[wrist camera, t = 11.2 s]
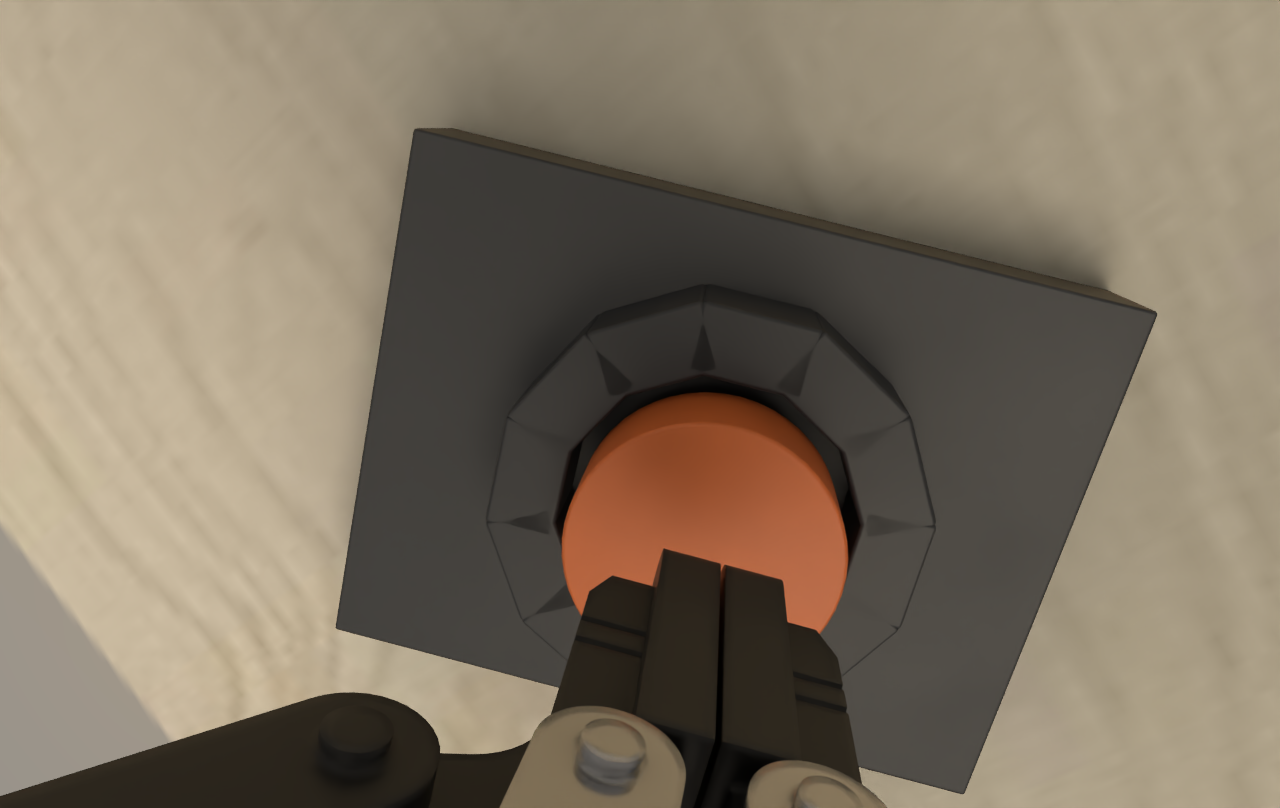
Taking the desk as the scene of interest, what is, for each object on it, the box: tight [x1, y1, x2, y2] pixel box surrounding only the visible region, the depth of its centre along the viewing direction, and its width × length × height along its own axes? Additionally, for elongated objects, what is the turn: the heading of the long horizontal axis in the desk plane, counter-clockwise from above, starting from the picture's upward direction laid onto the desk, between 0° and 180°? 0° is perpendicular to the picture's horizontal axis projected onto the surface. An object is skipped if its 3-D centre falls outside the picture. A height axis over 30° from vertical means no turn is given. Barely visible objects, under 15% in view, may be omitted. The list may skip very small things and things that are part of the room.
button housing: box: [336, 128, 1157, 794], centre depth 18 cm, size 13×10×4 cm
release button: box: [562, 392, 848, 634], centre depth 16 cm, size 4×4×2 cm
